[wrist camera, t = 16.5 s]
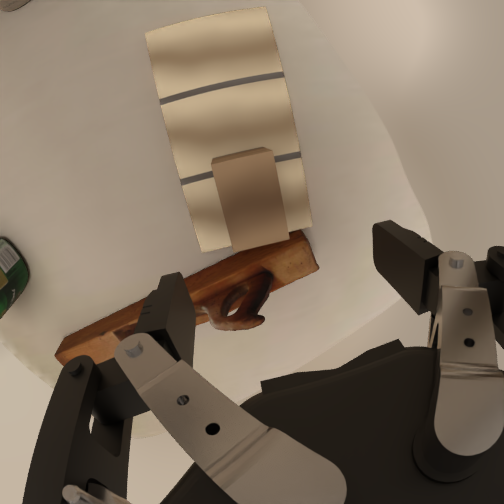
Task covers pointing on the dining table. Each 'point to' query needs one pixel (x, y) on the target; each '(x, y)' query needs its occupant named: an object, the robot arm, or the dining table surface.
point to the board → (226, 110)
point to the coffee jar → (10, 276)
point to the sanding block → (250, 198)
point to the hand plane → (209, 296)
